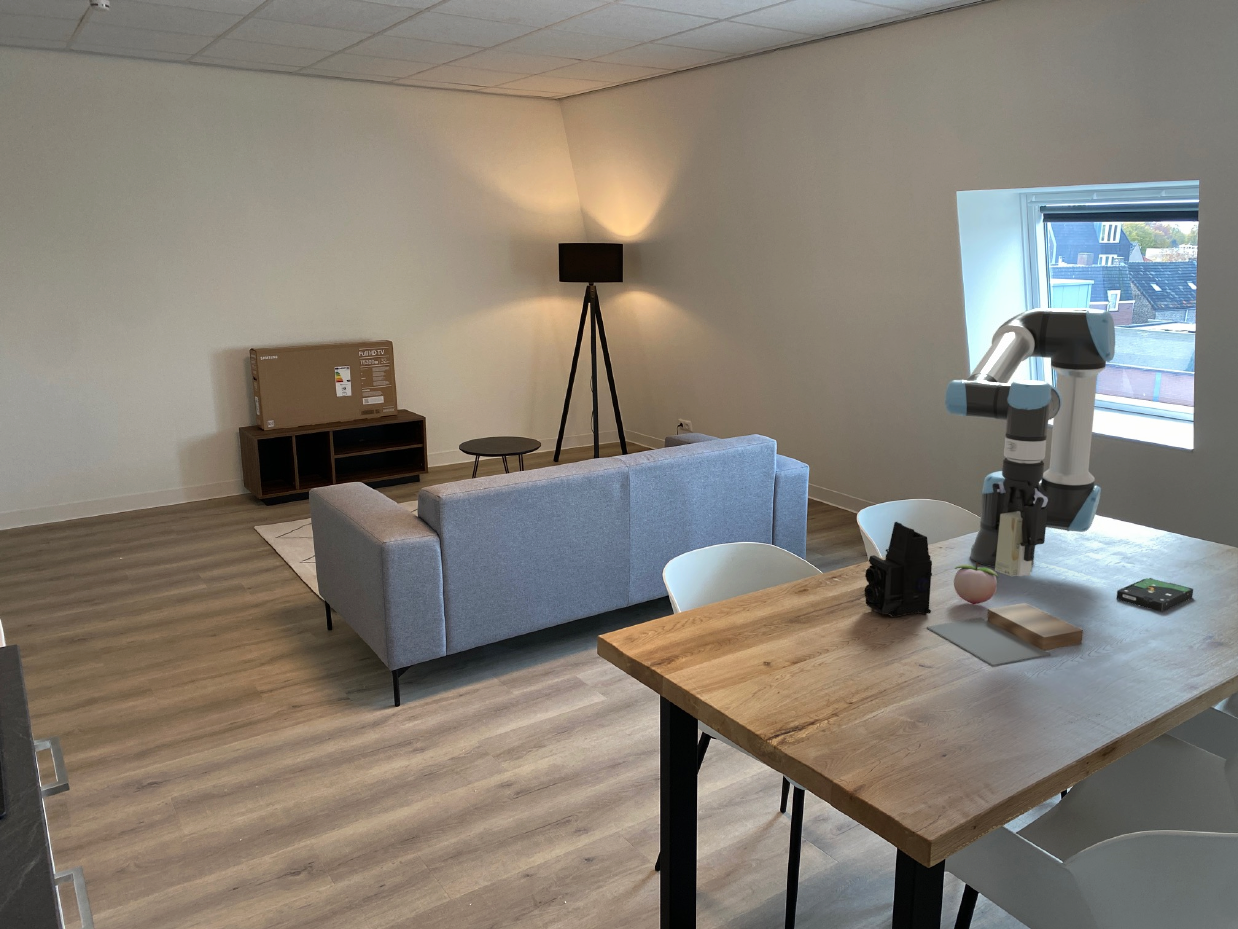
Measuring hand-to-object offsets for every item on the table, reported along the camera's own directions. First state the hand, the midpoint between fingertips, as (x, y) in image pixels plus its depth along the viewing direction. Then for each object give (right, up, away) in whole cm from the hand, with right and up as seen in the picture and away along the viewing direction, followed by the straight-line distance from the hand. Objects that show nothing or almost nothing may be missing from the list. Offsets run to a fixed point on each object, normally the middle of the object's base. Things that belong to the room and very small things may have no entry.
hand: (1013, 570), depth 190 cm
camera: (-19, -11, +17) cm, 28 cm away
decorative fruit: (0, -10, +21) cm, 23 cm away
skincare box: (0, 0, 0) cm, 1 cm away
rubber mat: (-5, -15, +2) cm, 16 cm away
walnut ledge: (+6, -14, +6) cm, 16 cm away
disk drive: (+42, -10, +24) cm, 50 cm away
